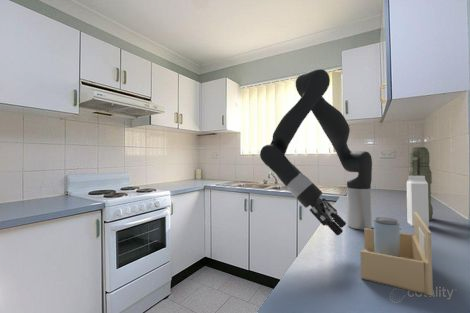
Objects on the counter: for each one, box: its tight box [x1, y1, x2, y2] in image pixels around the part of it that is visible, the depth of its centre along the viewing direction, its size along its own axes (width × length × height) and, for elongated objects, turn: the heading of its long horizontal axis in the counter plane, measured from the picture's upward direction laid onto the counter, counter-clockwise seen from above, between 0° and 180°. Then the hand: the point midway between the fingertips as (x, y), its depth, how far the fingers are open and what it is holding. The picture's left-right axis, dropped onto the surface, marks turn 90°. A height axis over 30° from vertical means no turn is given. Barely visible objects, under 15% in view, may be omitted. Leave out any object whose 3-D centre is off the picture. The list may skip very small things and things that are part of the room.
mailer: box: [360, 212, 434, 297], centre depth 62 cm, size 22×14×14 cm, turn 148°
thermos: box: [407, 146, 434, 221], centre depth 111 cm, size 9×12×35 cm
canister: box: [373, 216, 401, 257], centre depth 63 cm, size 6×6×13 cm
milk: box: [406, 175, 430, 229], centre depth 100 cm, size 6×6×22 cm
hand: (342, 229), depth 69 cm, fingers open, 8 cm apart
